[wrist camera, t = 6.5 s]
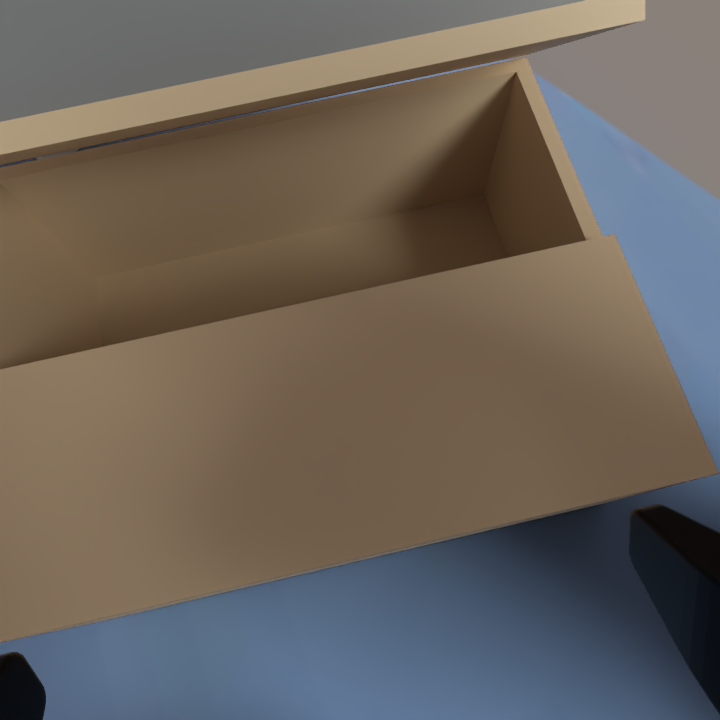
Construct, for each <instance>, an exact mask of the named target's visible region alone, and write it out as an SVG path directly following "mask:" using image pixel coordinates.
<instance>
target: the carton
mask: <svg viewBox="0 0 720 720" xmlns="http://www.w3.org/2000/svg"><path fill="white" fill-rule="evenodd" d="M715 474H719V472H718V470H717V468H716V466H715V463H714V461H713V459H712V456H711V454H710V452H709V450H708V447H707V445H706V443H705V440H704V438H703V436H702V433H701V431H700V429H699V427H698V424H697V422H696V420H695V417H694V415H693V413H692V410H691V408H690V406H689V404H688V401H687V399H686V397H685V394H684V392H683V390H682V388H681V385H680V383H679V381H678V378H677V376H676V374H675V371H674V369H673V367H672V365H671V362H670V360H669V358H668V355H667V353H666V351H665V348H664V346H663V344H662V342H661V339H660V337H659V335H658V332H657V330H656V328H655V326H654V323H653V321H652V319H651V316H650V314H649V312H648V309H647V307H646V305H645V303H644V300H643V298H642V296H641V293H640V291H639V289H638V287H637V284H636V282H635V280H634V277H633V275H632V273H631V270H630V268H629V266H628V264H627V261H626V259H625V257H624V254H623V252H622V250H621V247H620V245H619V243H618V241H617V238H616V236H615V234H613V235H608V236H604V237H603V236H602V233H601V231H600V229H599V226H598V224H597V222H596V219H595V217H594V215H593V212H592V210H591V207H590V205H589V203H588V200H587V198H586V196H585V193H584V191H583V189H582V186H581V184H580V182H579V179H578V177H577V175H576V172H575V170H574V168H573V165H572V163H571V161H570V158H569V156H568V154H567V151H566V149H565V147H564V144H563V142H562V139H561V137H560V135H559V132H558V130H557V128H556V125H555V123H554V121H553V118H552V116H551V114H550V111H549V109H548V107H547V104H546V102H545V100H544V97H543V95H542V93H541V90H540V88H539V86H538V83H537V81H536V79H535V76H534V74H533V72H532V69H531V67H530V64H529V62H528V60H527V58H526V57H525V58H521V59H516V60H511V61H506V62H501V63H497V64H492V65H487V66H482V67H477V68H473V69H468V70H463V71H458V72H454V73H449V74H444V75H439V76H435V77H430V78H425V79H420V80H415V81H411V82H406V83H401V84H396V85H392V86H387V87H382V88H377V89H373V90H368V91H363V92H358V93H353V94H349V95H344V96H339V97H334V98H330V99H325V100H320V101H315V102H311V103H306V104H301V105H296V106H291V107H287V108H282V109H277V110H272V111H268V112H263V113H258V114H253V115H249V116H244V117H239V118H234V119H229V120H225V121H220V122H215V123H210V124H206V125H201V126H196V127H191V128H187V129H182V130H177V131H172V132H167V133H163V134H158V135H153V136H148V137H144V138H139V139H134V140H129V141H125V142H120V143H115V144H110V145H105V146H101V147H96V148H91V149H86V150H82V151H77V152H72V153H67V154H63V155H58V156H53V157H48V158H44V159H39V160H34V161H29V162H24V163H20V164H15V165H10V166H5V167H1V168H0V643H1V642H6V641H11V640H15V639H20V638H25V637H29V636H34V635H39V634H43V633H48V632H53V631H57V630H62V629H67V628H71V627H76V626H81V625H85V624H90V623H95V622H100V621H104V620H109V619H114V618H118V617H122V616H126V615H131V614H135V613H139V612H143V611H148V610H152V609H156V608H160V607H165V606H169V605H173V604H177V603H182V602H186V601H190V600H195V599H199V598H203V597H207V596H212V595H216V594H220V593H224V592H229V591H233V590H237V589H241V588H246V587H250V586H254V585H258V584H263V583H267V582H271V581H276V580H280V579H284V578H288V577H293V576H297V575H301V574H305V573H310V572H314V571H318V570H322V569H327V568H331V567H335V566H340V565H344V564H348V563H352V562H357V561H361V560H365V559H369V558H374V557H378V556H382V555H386V554H391V553H395V552H399V551H403V550H408V549H412V548H416V547H421V546H425V545H429V544H433V543H438V542H442V541H446V540H450V539H455V538H459V537H463V536H467V535H472V534H476V533H480V532H484V531H489V530H493V529H497V528H502V527H506V526H510V525H514V524H519V523H523V522H527V521H531V520H536V519H540V518H544V517H548V516H553V515H557V514H561V513H566V512H570V511H574V510H578V509H583V508H587V507H591V506H595V505H600V504H604V503H608V502H611V501H615V500H619V499H623V498H627V497H631V496H634V495H638V494H642V493H646V492H650V491H654V490H657V489H661V488H665V487H669V486H673V485H676V484H680V483H684V482H688V481H692V480H696V479H699V478H703V477H707V476H711V475H715Z"/></svg>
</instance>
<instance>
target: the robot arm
mask: <svg viewBox="0 0 720 720" xmlns="http://www.w3.org/2000/svg"><path fill="white" fill-rule="evenodd" d="M629 553H630V558H631V562H632V564H633V566H634V569H635V570H636V572H637V574H638V576H639V578H640V580H641V582H642V583H643V585H644V587H645V589H646V591H647V593H648V594H649V596H650V598H651V600H652V602H653V604H654V606H655V607H656V609H657V611H658V613H659V615H660V617H661V618H662V620H663V622H664V624H665V626H666V628H667V630H668V631H669V633H670V635H671V637H672V639H673V641H674V642H675V644H676V646H677V648H678V650H679V652H680V653H681V655H682V657H683V659H684V660H685V662H686V664H687V666H688V667H689V669H690V671H691V672H692V674H693V675H694V677H695V678H696V680H697V681H698V683H699V685H700V686H701V688H702V689H703V691H704V692H705V694H706V695H707V696H708V698H709V699H710V701H711V702H712V704H713V705H714V707H715V708H716V710H717V711H718V713H719V714H720V532H718V531H716V530H714V529H711V528H709V527H707V526H705V525H703V524H701V523H699V522H697V521H695V520H693V519H691V518H689V517H687V516H685V515H683V514H681V513H679V512H676V511H674V510H672V509H670V508H668V507H666V506H663V505H660V504H656V505H651V506H647V507H642V508H638V509H635V510H633V511H632V513H631V516H630V537H629ZM45 704H46V694H45V690H44V687H43V685H42V683H41V682H40V680H39V678H38V677H37V675H36V674H35V672H34V671H33V669H32V668H31V666H30V665H29V663H28V662H27V660H26V659H25V657H24V656H23V655H22V654H20V653H18V652H11V653H7V654H3V655H0V720H43V716H44V710H45Z"/></svg>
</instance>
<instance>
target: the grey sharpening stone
mask: <svg viewBox="0 0 720 720" xmlns="http://www.w3.org/2000/svg"><path fill="white" fill-rule="evenodd" d="M643 20H645V0H587V1H585V0H0V165H3V164H8V163H13V162H17V161H22V160H27V159H32V158H36V157H41V156H46V155H51V154H56V153H60V152H65V151H70V150H75V149H79V148H84V147H89V146H94V145H98V144H103V143H108V142H113V141H118V140H122V139H127V138H132V137H137V136H141V135H146V134H151V133H156V132H161V131H165V130H170V129H175V128H180V127H184V126H189V125H194V124H199V123H203V122H208V121H213V120H218V119H223V118H227V117H232V116H237V115H242V114H246V113H251V112H256V111H261V110H266V109H270V108H275V107H280V106H285V105H289V104H294V103H299V102H304V101H308V100H313V99H318V98H323V97H328V96H332V95H337V94H342V93H347V92H351V91H356V90H361V89H366V88H370V87H375V86H380V85H385V84H390V83H394V82H399V81H404V80H409V79H413V78H418V77H423V76H428V75H433V74H437V73H442V72H447V71H452V70H456V69H461V68H466V67H471V66H475V65H480V64H485V63H490V62H495V61H499V60H504V59H509V58H514V57H518V56H523V55H528V54H531V53H535V52H538V51H541V50H545V49H548V48H551V47H555V46H558V45H562V44H565V43H568V42H572V41H575V40H579V39H582V38H586V37H589V36H592V35H595V34H599V33H603V32H606V31H609V30H613V29H616V28H620V27H623V26H626V25H630V24H633V23H637V22H640V21H643Z"/></svg>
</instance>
